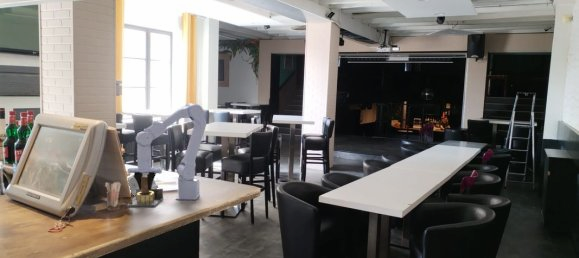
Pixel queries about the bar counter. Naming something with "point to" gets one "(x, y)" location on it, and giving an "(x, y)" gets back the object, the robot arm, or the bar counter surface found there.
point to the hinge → (134, 184)
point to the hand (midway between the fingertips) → (145, 188)
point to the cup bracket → (147, 198)
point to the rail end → (144, 185)
